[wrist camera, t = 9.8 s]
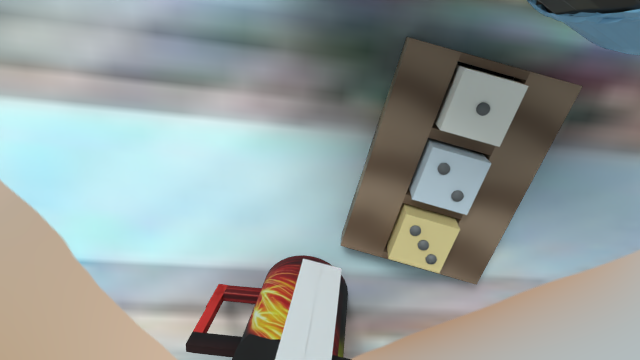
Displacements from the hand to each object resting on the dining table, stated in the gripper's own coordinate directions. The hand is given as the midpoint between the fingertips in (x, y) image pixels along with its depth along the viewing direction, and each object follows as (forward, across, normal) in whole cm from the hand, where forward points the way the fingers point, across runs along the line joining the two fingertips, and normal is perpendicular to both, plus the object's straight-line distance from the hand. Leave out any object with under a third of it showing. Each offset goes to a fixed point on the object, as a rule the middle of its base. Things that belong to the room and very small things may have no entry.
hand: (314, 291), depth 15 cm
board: (+23, +10, -1) cm, 25 cm away
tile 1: (+22, +9, -7) cm, 25 cm away
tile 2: (+22, +10, +6) cm, 25 cm away
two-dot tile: (+22, +10, -1) cm, 24 cm away
